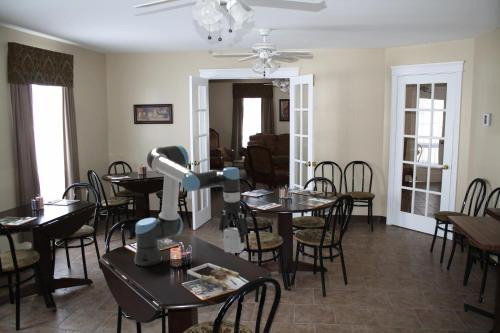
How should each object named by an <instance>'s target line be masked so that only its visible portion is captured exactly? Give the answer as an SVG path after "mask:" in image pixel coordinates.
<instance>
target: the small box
mask: <svg viewBox="0 0 500 333" xmlns="http://www.w3.org/2000/svg"><path fill="white" fill-rule="evenodd" d="M223 232H224V238H223V247H224V253H233V254H235V253H237V254H240V253H242V251H243V250H244V249H242V250H239V237H238V236H240V235H239V232H238V230H237V227H228V228H226V229H225V230H224V231H223ZM223 232H222V233H223Z"/></svg>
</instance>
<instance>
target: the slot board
mask: <svg viewBox="0 0 500 333" xmlns="http://www.w3.org/2000/svg"><path fill="white" fill-rule="evenodd" d="M220 270H222V272H224V273H226V274H227V278H224V279H222V280H219V279H216V278H215V277H214V276H211V274H210V275H205V274H202V276H201V280H203V281H206V282H208V283H211V284H214V285H216V286H220V285H222V284H224V283H227V282H229V281H232V280H234V279H236V278H238V277H240V273H239V272H237V271H234V270H230V269H227V268H225V267H221V268H220Z"/></svg>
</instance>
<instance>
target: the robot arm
mask: <svg viewBox="0 0 500 333" xmlns="http://www.w3.org/2000/svg"><path fill="white" fill-rule="evenodd" d="M189 158H190V157H189V154H188V151H187V149H186V148H185V147H184V146H182V145H169V146H158V147H155V148H152V149H150V151H149V152H148V153H147V157H146V163H147V166H148V167H149V168H150V169H151V170H152V171H154V172H156V173H162V174H164V175H163V187H162V188H163V190H162V202H161V203H162V205H161V211H160V213H159V214H158V218H155V217H147V218H144V219H140V220H139V221H137V222H136V223H135V230H134V232H135V241H136V250H135V255H134V260H133V261H134V262H135V263H134V264H135V265H136V264H137V265H136V266H139V265H140V266H139V267H148V266H154V265H157V264H160V263H162V261H163V255H162V252H161V250H160V247H159V241H163V240H166V239H170V238H174V237H177V236H179V235H180V234H181V233H182V232H183V229H184V222H183V219H182V218H181V216H180V214H179V213H178V208H179V207H178V204H179V193H180V192H179V191H180V183H181V184H182V187H183V188H184V191H187V192H196V191H199V190H200V191H201V190H203V189H210V188H216V187H221V188H223V201H224V202H223V206H224V209H223V210H220V220H219V227H218V230H219V231H221V232H222V239H224V232H223V231H224V230H225V229H226V228H230V227H229V226H230V223H231V221H232V222H233V223H234V225H235V226H236V227H235V228H237V230H238V232H239V235H240V236H238V237H239V250H242V249H243V250H244V249H245V242H246V240H245V236H247V235H248V234H249V232H248V231H249V230H248V227H247V222H246V214H245V213H241V211H240V209H241V201H240V200H241V194H240V193H241V192H240V189H241V188H240V183H241V182H240V170H239V168H238V167H234V166H233V167H231V166H229V167H224V168H223V169H222V170H220V169H219V170H218V169H210V170H208V171H206V172H205V171H204V172H196V171H193V170H191V169H189V168H188V167H186V166H188V164H189V160H190V159H189ZM243 250H242V251H243Z"/></svg>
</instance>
